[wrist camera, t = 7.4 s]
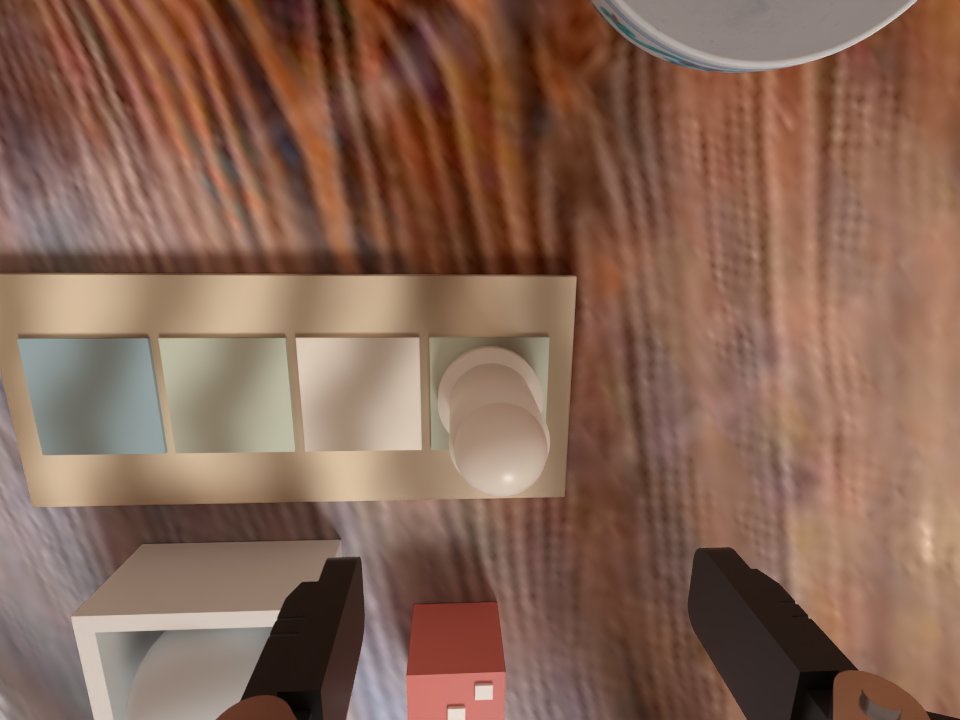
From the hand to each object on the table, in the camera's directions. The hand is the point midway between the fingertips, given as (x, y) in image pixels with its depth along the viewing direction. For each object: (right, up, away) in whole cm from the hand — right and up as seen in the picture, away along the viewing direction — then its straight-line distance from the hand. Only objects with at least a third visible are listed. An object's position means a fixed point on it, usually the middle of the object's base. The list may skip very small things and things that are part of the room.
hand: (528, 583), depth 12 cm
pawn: (-1, +4, +14) cm, 14 cm away
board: (-10, +4, +15) cm, 18 cm away
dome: (-15, -10, +18) cm, 25 cm away
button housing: (-15, -10, +18) cm, 25 cm away
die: (-3, -12, +19) cm, 22 cm away
